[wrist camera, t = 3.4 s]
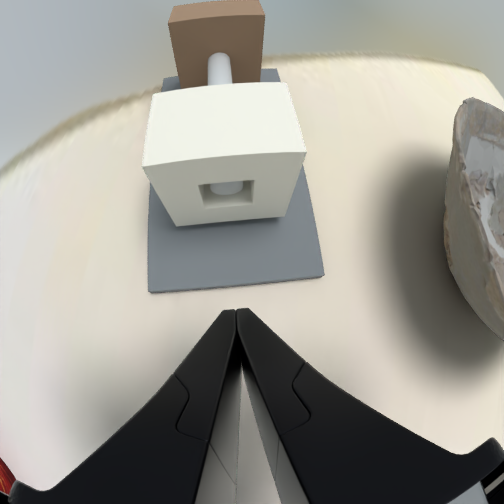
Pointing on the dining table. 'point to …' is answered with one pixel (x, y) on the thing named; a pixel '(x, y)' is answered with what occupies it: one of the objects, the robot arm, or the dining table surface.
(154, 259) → the rod stand
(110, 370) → the dining table surface
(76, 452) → the dining table surface
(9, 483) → the mug
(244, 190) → the sleeve
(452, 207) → the ceramic bowl
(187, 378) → the robot arm
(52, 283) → the dining table surface
